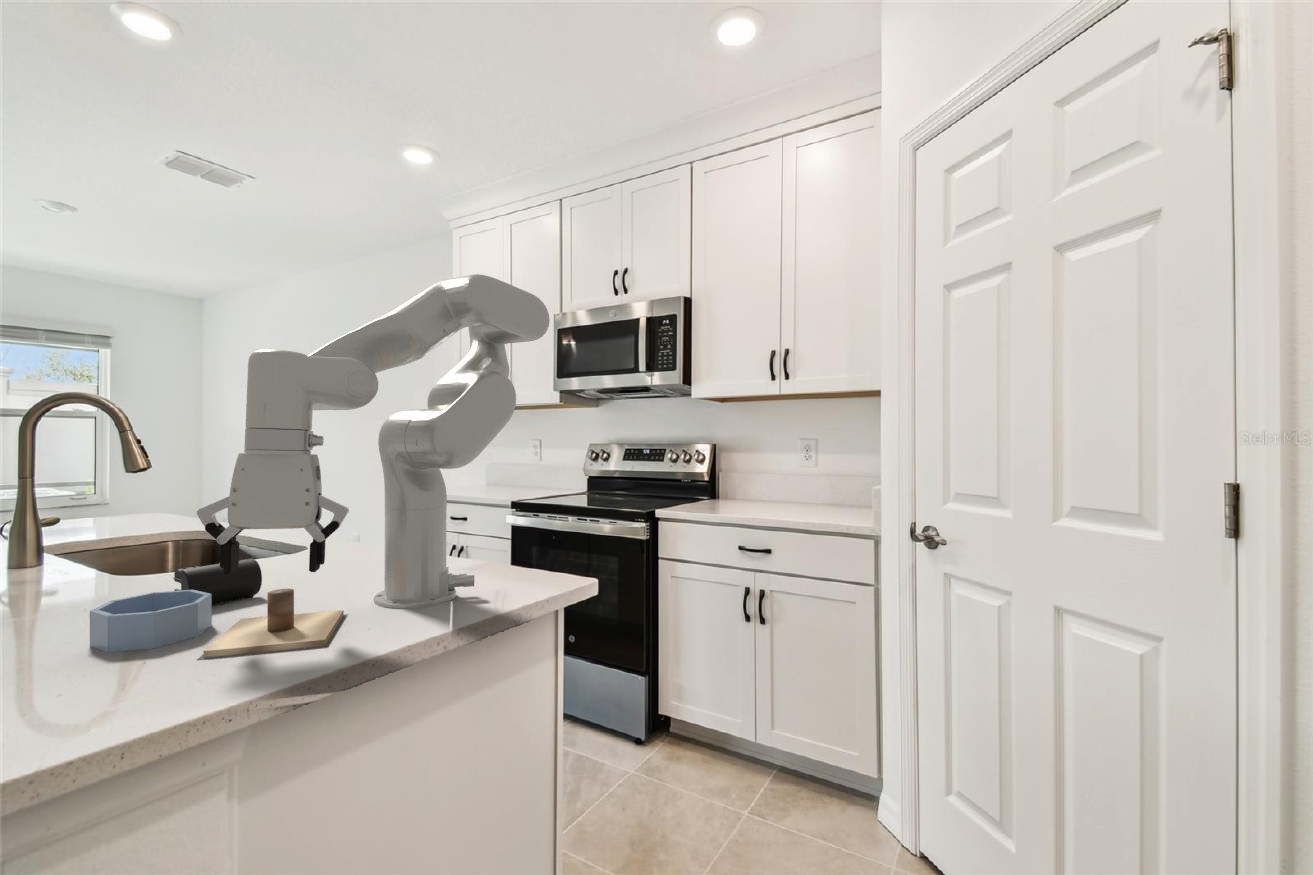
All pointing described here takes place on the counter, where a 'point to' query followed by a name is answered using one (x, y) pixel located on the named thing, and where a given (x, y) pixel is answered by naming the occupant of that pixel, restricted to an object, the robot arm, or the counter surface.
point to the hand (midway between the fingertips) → (273, 571)
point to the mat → (288, 649)
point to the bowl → (150, 620)
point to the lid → (276, 629)
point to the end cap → (222, 581)
